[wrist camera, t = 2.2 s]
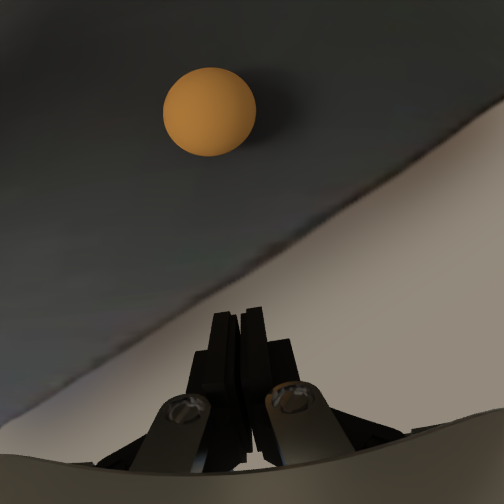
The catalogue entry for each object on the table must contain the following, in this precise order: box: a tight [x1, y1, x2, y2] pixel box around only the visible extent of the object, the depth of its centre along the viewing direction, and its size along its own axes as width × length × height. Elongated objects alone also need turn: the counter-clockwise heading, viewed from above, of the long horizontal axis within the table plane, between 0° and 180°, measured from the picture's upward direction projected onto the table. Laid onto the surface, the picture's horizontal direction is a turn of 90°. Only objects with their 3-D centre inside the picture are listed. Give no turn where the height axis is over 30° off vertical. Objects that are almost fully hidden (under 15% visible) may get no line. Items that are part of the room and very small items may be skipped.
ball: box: [163, 67, 256, 156], centre depth 18 cm, size 6×6×6 cm
